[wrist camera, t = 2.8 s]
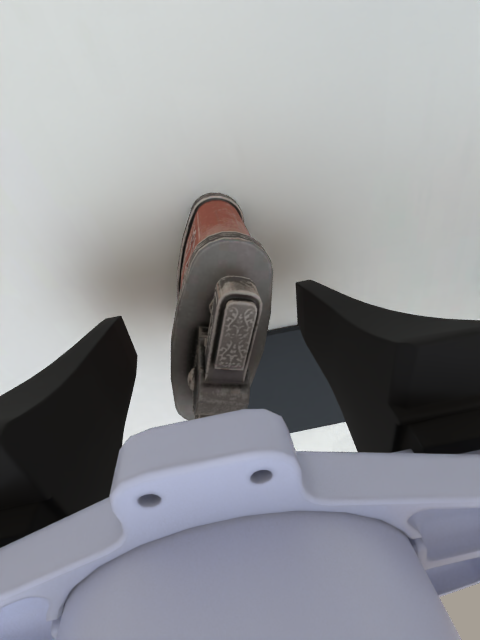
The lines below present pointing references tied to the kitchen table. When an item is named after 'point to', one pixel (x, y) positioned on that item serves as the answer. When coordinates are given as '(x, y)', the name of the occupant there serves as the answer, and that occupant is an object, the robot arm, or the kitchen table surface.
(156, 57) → the kitchen table surface
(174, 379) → the lighter
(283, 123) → the kitchen table surface
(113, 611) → the robot arm
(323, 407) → the mat
